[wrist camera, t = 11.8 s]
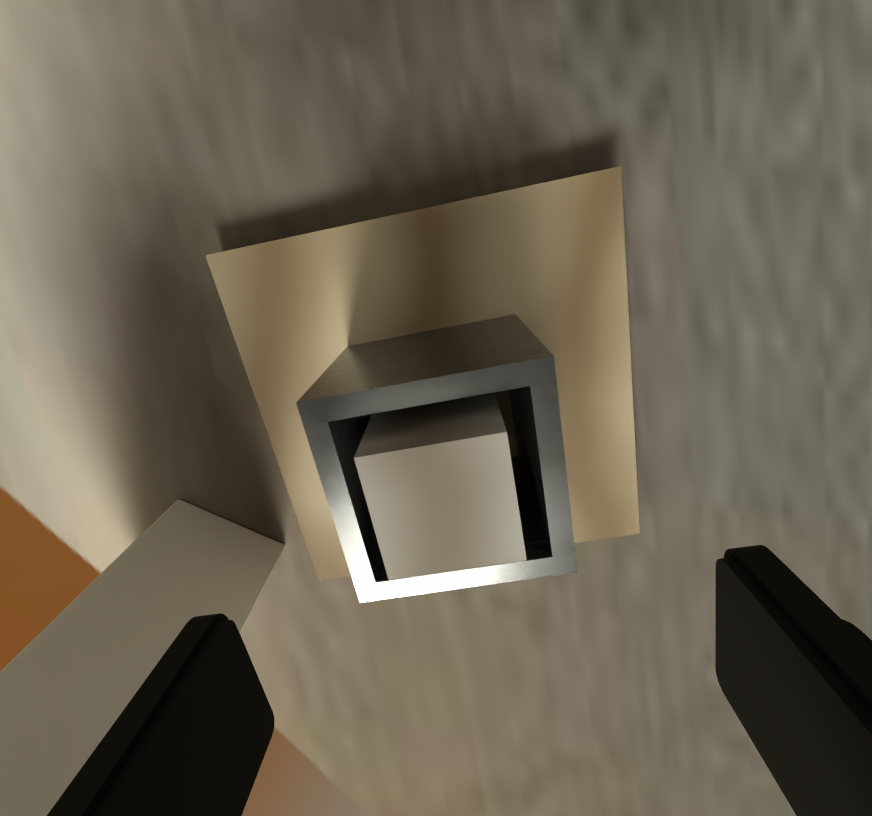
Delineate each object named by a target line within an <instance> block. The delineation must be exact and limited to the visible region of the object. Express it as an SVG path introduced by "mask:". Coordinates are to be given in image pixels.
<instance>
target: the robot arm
mask: <svg viewBox="0 0 872 816" xmlns="http://www.w3.org/2000/svg"><path fill="white" fill-rule="evenodd" d="M716 674H717V678H718V681H719V684H720V687H721V689H722V691H723V693H724V695H725V696H726V698H727V700H728V701H729V703H730V705H731V706H732V708H733V710H734V711H735V713H736V715H737V716H738V718H739V720H740V721H741V723H742V725H743V726H744V728H745V730H746V731H747V733H748V735H749V737H750V738H751V740H752V742H753V743H754V745H755V747H756V748H757V750H758V752H759V753H760V755H761V757H762V758H763V760H764V762H765V763H766V765H767V767H768V768H769V770H770V772H771V773H772V775H773V777H774V778H775V780H776V782H777V783H778V785H779V787H780V789H781V790H782V792H783V794H784V795H785V797H786V799H787V800H788V802H789V804H790V805H791V807H792V809H793V810H794V812H795V814H796V815H797V816H872V641H871V640H870V639H869V638H868V637H867V636H866V635H865V634H864V633H863V632H862V631H861V630H859V629H858V628H857V627H856V626H854V625H853V624H852V623H850V622H847V621H845V620H843V619H840V618H839V617H838V616H837V615H836V614H835V613H834V612H833V611H832V610H831V609H830V608H829V607H828V606H827V605H826V604H825V603H824V602H823V601H822V600H821V599H820V598H819V597H818V596H817V595H816V594H815V593H814V592H813V591H812V590H811V589H809V588H808V587H807V586H806V585H805V584H804V583H803V582H802V581H801V580H800V579H799V578H798V577H797V576H796V575H795V574H794V573H793V572H792V571H791V570H790V569H789V568H788V567H787V566H786V565H785V564H784V563H783V562H782V561H781V560H780V559H779V558H777V557H776V556H775V555H774V554H773V553H772V552H771V551H770V550H769V549H768V548H766V547H765V546H762V545H757V546H749V547H741V548H733V549H728V550H726V552H725V554H724V558H722V559H718V560H717V562H716ZM273 729H274V715H273V712H272V709H271V707H270V705H269V702H268V700H267V697H266V695H265V693H264V690H263V688H262V685H261V683H260V681H259V678H258V676H257V674H256V671H255V669H254V666H253V664H252V662H251V659H250V657H249V655H248V652H247V650H246V647H245V645H244V643H243V640H242V638H241V636H240V633H239V631H238V628H237V626H236V624H235V622H234V621H232V620H229V619H228V618H227V616H226V615H224V614H220V613H219V614H211V615H203V616H195V617H193V618H191V619H190V620H189V621H188V622H187V623H186V625H185V626H184V627H183V629H182V630H181V632H180V633H179V634H178V636H177V637H176V638H175V640H174V641H173V643H172V644H171V645H170V647H169V648H168V649H167V651H166V652H165V654H164V655H163V656H162V658H161V659H160V660H159V662H158V663H157V665H156V666H155V667H154V669H153V670H152V671H151V673H150V674H149V676H148V677H147V678H146V680H145V681H144V682H143V684H142V685H141V687H140V688H139V689H138V691H137V692H136V693H135V695H134V696H133V698H132V699H131V700H130V702H129V703H128V704H127V706H126V707H125V709H124V710H123V711H122V713H121V714H120V715H119V717H118V718H117V720H116V721H115V722H114V724H113V725H112V727H111V728H110V729H109V731H108V732H107V733H106V735H105V736H104V738H103V739H102V740H101V742H100V743H99V744H98V746H97V747H96V749H95V750H94V751H93V753H92V754H91V755H90V757H89V758H88V760H87V761H86V762H85V764H84V765H83V766H82V768H81V769H80V771H79V772H78V773H77V775H76V776H75V777H74V779H73V780H72V782H71V783H70V784H69V786H68V787H67V788H66V790H65V791H64V793H63V794H62V795H61V797H60V798H59V799H58V801H57V802H56V804H55V805H54V806H53V808H52V809H51V810H50V812H49V813H48V815H47V816H241V815H242V813H243V810H244V807H245V805H246V802H247V800H248V797H249V794H250V792H251V789H252V787H253V784H254V781H255V778H256V776H257V773H258V771H259V768H260V765H261V763H262V760H263V758H264V755H265V753H266V750H267V747H268V745H269V742H270V740H271V737H272V733H273Z"/></svg>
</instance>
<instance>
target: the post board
mask: <svg viewBox="0 0 872 816" xmlns="http://www.w3.org/2000/svg"><path fill="white" fill-rule="evenodd" d="M205 256H206V259H207V262H208V265H209V267H210V270H211V273H212V276H213V279H214V282H215V285H216V287H217V290H218V293H219V296H220V299H221V302H222V305H223V307H224V310H225V313H226V316H227V319H228V322H229V325H230V327H231V330H232V333H233V336H234V339H235V342H236V345H237V348H238V350H239V353H240V356H241V359H242V362H243V365H244V368H245V370H246V373H247V376H248V379H249V382H250V385H251V388H252V390H253V393H254V396H255V399H256V402H257V405H258V408H259V410H260V413H261V416H262V419H263V422H264V425H265V428H266V430H267V433H268V436H269V439H270V442H271V445H272V448H273V451H274V453H275V456H276V459H277V462H278V465H279V468H280V471H281V473H282V476H283V479H284V482H285V485H286V488H287V491H288V493H289V496H290V499H291V502H292V505H293V508H294V511H295V513H296V516H297V519H298V522H299V525H300V528H301V531H302V533H303V536H304V539H305V542H306V545H307V548H308V551H309V554H310V556H311V559H312V562H313V565H314V568H315V571H316V574H317V576H318V579H319V581H320V580H327V579H334V578H341V577H348V576H351V574H350V571H349V568H348V565H347V562H346V559H345V555H344V552H343V549H342V546H341V543H340V540H339V537H338V533H337V530H336V527H335V524H334V521H333V518H332V515H331V511H330V508H329V505H328V502H327V499H326V496H325V493H324V489H323V486H322V483H321V480H320V477H319V474H318V471H317V467H316V464H315V461H314V458H313V455H312V452H311V449H310V445H309V442H308V439H307V436H306V433H305V430H304V427H303V424H302V420H301V417H300V414H299V411H298V408H297V405H296V402H297V401H298V400H299V399H300V398H301V397H302V396H303V394H304V393H305V392H306V391H307V390H308V389H309V388H310V387H311V386H312V385H313V384H314V382H315V381H316V380H317V379H318V378H319V377H320V376H321V375H322V374H323V373H324V371H325V370H326V369H327V368H328V367H329V366H330V365H331V364H332V363H333V362H334V361H335V359H336V358H337V357H338V356H339V355H340V354H341V353H342V352H343V351H344V350H345V349H346V347H347V346H351V345H357V344H362V343H367V342H372V341H378V340H383V339H388V338H393V337H398V336H404V335H409V334H414V333H419V332H425V331H430V330H435V329H440V328H446V327H451V326H456V325H461V324H466V323H472V322H477V321H482V320H487V319H493V318H498V317H503V316H508V315H513V314H516V316H517V317H518V318H519V319H520V320H521V321H522V322H523V323H524V324H525V325H526V326H527V327H528V328H529V330H530V331H531V332H532V333H533V334H534V335H535V336H536V337H537V338H538V339H539V340H540V341H541V342H542V344H543V345H544V346H545V347H546V348H547V349H548V350H549V351H550V352H551V353H552V354H553V355H554V362H555V371H556V380H557V389H558V398H559V408H560V417H561V426H562V435H563V444H564V453H565V462H566V472H567V481H568V490H569V499H570V508H571V517H572V527H573V536H574V543H579V542H585V541H592V540H599V539H606V538H613V537H619V536H626V535H633V534H640V531H639V512H638V492H637V472H636V452H635V432H634V412H633V392H632V373H631V353H630V333H629V313H628V293H627V273H626V254H625V234H624V214H623V194H622V174H621V166H619V167H614V168H610V169H605V170H600V171H596V172H591V173H586V174H582V175H577V176H572V177H568V178H563V179H558V180H554V181H549V182H544V183H540V184H535V185H530V186H526V187H521V188H516V189H512V190H507V191H502V192H498V193H493V194H488V195H484V196H479V197H474V198H470V199H465V200H460V201H456V202H451V203H446V204H442V205H437V206H432V207H428V208H423V209H418V210H414V211H409V212H404V213H400V214H395V215H390V216H386V217H381V218H377V219H372V220H367V221H363V222H358V223H353V224H349V225H344V226H339V227H335V228H330V229H325V230H321V231H316V232H311V233H307V234H302V235H297V236H293V237H288V238H283V239H279V240H274V241H269V242H265V243H260V244H255V245H251V246H246V247H241V248H237V249H232V250H227V251H223V252H218V253H213V254H209V255H205ZM514 456H518V449H517V443H516V436H515V429H514V422H513V416H512V409H511V402H510V395H509V390H504V391H499V392H493V393H487V394H482V395H476V396H470V397H465V398H459V399H454V400H448V401H442V402H437V403H431V404H425V405H420V406H414V407H408V408H403V409H397V410H392V411H386V412H380V413H375V414H372V416H371V418H370V420H369V423H368V425H367V428H366V430H365V432H364V435H363V437H362V440H361V442H360V444H359V447H358V449H357V452H356V454H355V456H354V460H355V464H356V467H357V471H358V474H359V478H360V481H361V485H362V488H363V492H364V495H365V499H366V502H367V506H368V509H369V513H370V516H371V520H372V524H373V527H374V531H375V534H376V538H377V541H378V545H379V548H380V552H381V555H382V559H383V562H384V566H385V569H386V573H387V576H388V580H395V579H401V578H408V577H415V576H422V575H429V574H436V573H443V572H450V571H457V570H463V569H470V568H477V567H484V566H491V565H498V564H505V563H512V562H518V561H525V560H527V559H526V552H525V546H524V539H523V533H522V526H521V520H520V513H519V507H518V500H517V494H516V487H515V481H514V474H513V468H512V461H511V457H514Z"/></svg>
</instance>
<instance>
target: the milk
mask: <svg viewBox="0 0 872 816" xmlns="http://www.w3.org/2000/svg"><path fill="white" fill-rule="evenodd" d="M283 549H284V545H283V544H282V543H279V542H277V541H275V540H272V539H270V538H268V537H265V536H263V535H261V534H258V533H256V532H254V531H251V530H249V529H247V528H245V527H242V526H240V525H238V524H235V523H233V522H231V521H228V520H226V519H224V518H221V517H219V516H217V515H214V514H212V513H210V512H208V511H205V510H203V509H201V508H198V507H196V506H194V505H191V504H189V503H187V502H184V501H182V500H177V501H175V502H174V503H173V504H172V505H171V506H170V507H169V508H168V509H167V510H166V511H165V512H164V513H163V514H162V515H161V516H160V517H159V518H158V519H157V520H156V521H155V522H154V523H153V524H152V525H151V526H150V527H149V528H147V529H146V530H145V531H144V532H143V533H142V534H141V535H140V536H139V537H138V538H137V539H136V540H135V541H134V542H133V543H132V544H131V545H130V546H129V547H128V548H127V549H126V550H125V551H124V552H123V553H122V554H121V555H120V556H119V557H118V558H117V559H116V560H115V561H114V562H113V563H111V564H110V565H109V566H108V567H107V568H106V569H105V570H104V571H103V572H102V573H101V574H100V575H99V576H98V577H97V578H96V579H95V580H94V581H93V582H92V583H91V584H90V585H89V586H88V587H87V588H86V589H85V590H84V591H83V592H82V593H81V594H80V595H79V596H78V597H77V598H75V599H74V601H72V602H71V603H70V604H69V605H68V606H67V607H66V608H65V609H64V610H63V611H62V612H61V613H60V614H59V615H58V616H57V617H56V618H55V619H54V620H53V621H52V622H51V623H50V624H49V625H48V626H47V627H46V628H45V629H44V630H43V631H42V632H41V633H40V634H39V635H37V636H36V637H35V638H34V639H33V640H32V641H31V642H30V643H29V644H28V645H27V646H26V647H25V648H24V649H23V650H22V651H21V652H20V653H19V654H18V655H17V656H16V657H15V658H14V659H13V660H12V661H11V662H10V663H9V664H8V665H7V666H6V667H4V669H2V670H1V671H0V816H47V815H48V813H49V812H50V810H51V809H52V808H53V806H54V805H55V804H56V802H57V801H58V799H59V798H60V797H61V795H62V794H63V793H64V791H65V790H66V788H67V787H68V786H69V784H70V783H71V782H72V780H73V779H74V777H75V776H76V775H77V773H78V772H79V771H80V769H81V768H82V766H83V765H84V764H85V762H86V761H87V760H88V758H89V757H90V755H91V754H92V753H93V751H94V750H95V749H96V747H97V746H98V744H99V743H100V742H101V740H102V739H103V738H104V736H105V735H106V733H107V732H108V731H109V729H110V728H111V727H112V725H113V724H114V722H115V721H116V720H117V718H118V717H119V715H120V714H121V713H122V711H123V710H124V709H125V707H126V706H127V704H128V703H129V702H130V700H131V699H132V698H133V696H134V695H135V693H136V692H137V691H138V689H139V688H140V687H141V685H142V684H143V682H144V681H145V680H146V678H147V677H148V676H149V674H150V673H151V671H152V670H153V669H154V667H155V666H156V665H157V663H158V662H159V660H160V659H161V658H162V656H163V655H164V654H165V652H166V651H167V649H168V648H169V647H170V645H171V644H172V643H173V641H174V640H175V638H176V637H177V636H178V634H179V633H180V632H181V630H182V629H183V627H184V626H185V625H186V623H187V622H188V621H189V620H190V619H191V618H193V617H195V616H203V615H211V614H219V613H220V614H224V615H226V616H227V618H228V619H229V620H232V621H234V622H235V624H236V626H237V628H238V631H239V633H240V635H241V633H242V631H243V629H244V627H245V625H246V623H247V621H248V619H249V617H250V615H251V613H252V611H253V609H254V607H255V605H256V603H257V601H258V599H259V597H260V595H261V593H262V591H263V589H264V587H265V585H266V583H267V581H268V579H269V577H270V575H271V573H272V571H273V569H274V567H275V565H276V563H277V561H278V559H279V557H280V555H281V553H282V551H283Z"/></svg>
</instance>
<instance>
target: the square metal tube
mask: <svg viewBox="0 0 872 816" xmlns="http://www.w3.org/2000/svg"><path fill="white" fill-rule="evenodd" d="M504 390H509V395H510V402H511V409H512V416H513V422H514V429H515V436H516V443H517V449H518V456H514V457H511V461H512V468H513V474H514V481H515V487H516V494H517V500H518V507H519V513H520V520H521V526H522V533H523V539H524V546H525V552H526V559H527V560H525V561H518V562H512V563H505V564H498V565H491V566H484V567H477V568H470V569H463V570H457V571H450V572H443V573H436V574H429V575H422V576H415V577H408V578H401V579H395V580H388V576H387V573H386V569H385V566H384V562H383V559H382V555H381V552H380V548H379V545H378V541H377V538H376V534H375V531H374V527H373V524H372V520H371V516H370V513H369V509H368V506H367V502H366V499H365V495H364V492H363V488H362V485H361V481H360V478H359V474H358V471H357V467H356V464H355V460H354V456H355V454H356V452H357V449H358V447H359V444H360V442H361V440H362V437H363V435H364V432H365V430H366V428H367V425H368V423H369V420H370V418H371V416H372V414H375V413H380V412H386V411H392V410H397V409H403V408H408V407H414V406H420V405H425V404H431V403H437V402H442V401H448V400H454V399H459V398H465V397H470V396H476V395H482V394H487V393H493V392H499V391H504ZM296 405H297V408H298V411H299V414H300V417H301V420H302V424H303V427H304V430H305V433H306V436H307V439H308V442H309V445H310V449H311V452H312V455H313V458H314V461H315V464H316V467H317V471H318V474H319V477H320V480H321V483H322V486H323V489H324V493H325V496H326V499H327V502H328V505H329V508H330V511H331V515H332V518H333V521H334V524H335V527H336V530H337V533H338V537H339V540H340V543H341V546H342V549H343V552H344V555H345V559H346V562H347V565H348V568H349V571H350V574H351V577H352V580H353V584H354V587H355V590H356V593H357V596H358V599H359V602H360V603H363V602H370V601H377V600H384V599H391V598H398V597H405V596H412V595H419V594H426V593H433V592H440V591H448V590H455V589H462V588H469V587H476V586H483V585H490V584H497V583H504V582H511V581H518V580H525V579H532V578H539V577H546V576H553V575H560V574H567V573H574V572H577V563H576V554H575V545H574V536H573V527H572V517H571V508H570V499H569V490H568V481H567V472H566V462H565V453H564V444H563V435H562V426H561V417H560V408H559V398H558V389H557V380H556V371H555V362H554V355H553V354H552V353H551V352H550V351H549V350H548V349H547V348H546V347H545V346H544V345H543V344H542V342H541V341H540V340H539V339H538V338H537V337H536V336H535V335H534V334H533V333H532V332H531V331H530V330H529V328H528V327H527V326H526V325H525V324H524V323H523V322H522V321H521V320H520V319H519V318H518V317H517V316H516V314H513V315H508V316H503V317H498V318H493V319H487V320H482V321H477V322H472V323H466V324H461V325H456V326H451V327H446V328H440V329H435V330H430V331H425V332H419V333H414V334H409V335H404V336H398V337H393V338H388V339H383V340H378V341H372V342H367V343H362V344H357V345H351V346H347V347H346V349H345V350H344V351H343V352H342V353H341V354H340V355H339V356H338V357H337V358H336V359H335V361H334V362H333V363H332V364H331V365H330V366H329V367H328V368H327V369H326V370H325V371H324V373H323V374H322V375H321V376H320V377H319V378H318V379H317V380H316V381H315V382H314V384H313V385H312V386H311V387H310V388H309V389H308V390H307V391H306V392H305V393H304V394H303V396H302V397H301V398H300V399H299V400H298V401H297V402H296Z"/></svg>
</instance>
